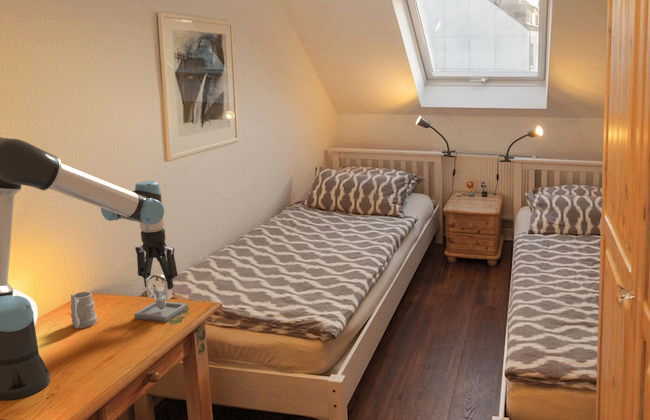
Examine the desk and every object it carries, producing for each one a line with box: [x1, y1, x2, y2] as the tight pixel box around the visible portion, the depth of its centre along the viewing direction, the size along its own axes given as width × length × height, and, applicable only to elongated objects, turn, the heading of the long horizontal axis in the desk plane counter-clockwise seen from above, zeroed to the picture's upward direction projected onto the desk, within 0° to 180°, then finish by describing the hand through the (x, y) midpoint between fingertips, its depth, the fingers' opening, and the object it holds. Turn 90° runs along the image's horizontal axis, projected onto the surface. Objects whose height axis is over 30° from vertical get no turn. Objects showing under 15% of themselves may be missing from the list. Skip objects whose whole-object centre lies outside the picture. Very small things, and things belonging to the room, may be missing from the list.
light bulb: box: [148, 273, 167, 309], centre depth 228 cm, size 7×7×12 cm
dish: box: [133, 300, 189, 323], centre depth 229 cm, size 12×12×2 cm
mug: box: [70, 291, 98, 329], centre depth 221 cm, size 8×12×12 cm, turn 177°
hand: (160, 297), depth 228 cm, fingers closed on light bulb, 6 cm apart
